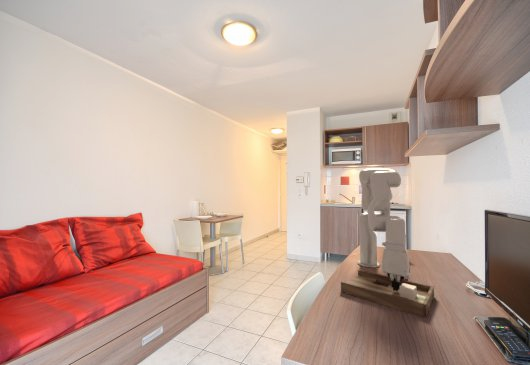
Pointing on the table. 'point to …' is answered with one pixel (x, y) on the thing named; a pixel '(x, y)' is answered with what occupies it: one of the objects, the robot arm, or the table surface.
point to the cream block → (408, 291)
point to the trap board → (389, 292)
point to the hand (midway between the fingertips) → (396, 289)
